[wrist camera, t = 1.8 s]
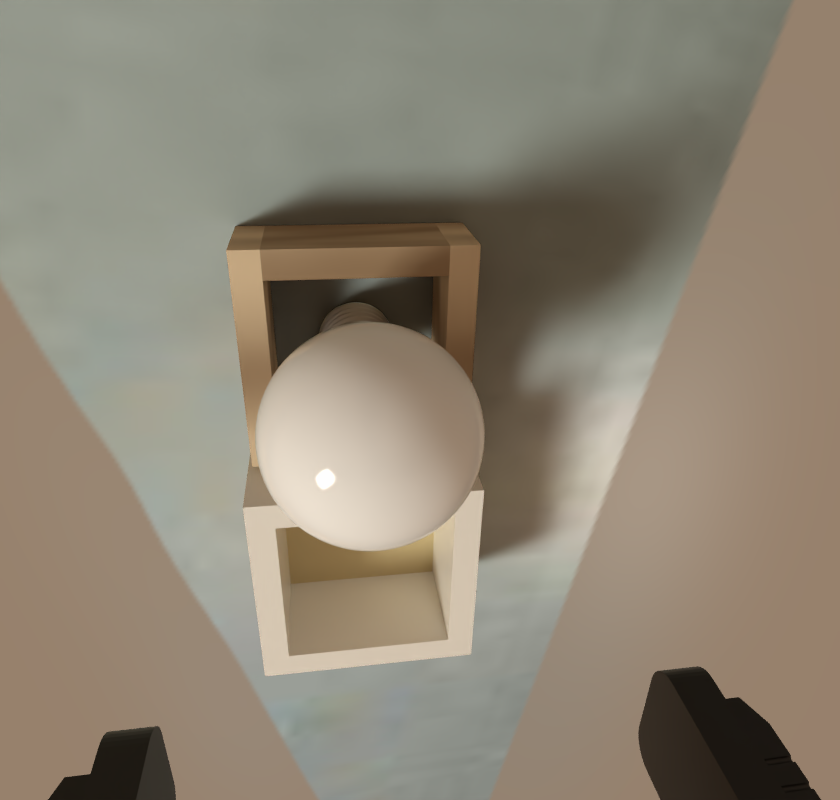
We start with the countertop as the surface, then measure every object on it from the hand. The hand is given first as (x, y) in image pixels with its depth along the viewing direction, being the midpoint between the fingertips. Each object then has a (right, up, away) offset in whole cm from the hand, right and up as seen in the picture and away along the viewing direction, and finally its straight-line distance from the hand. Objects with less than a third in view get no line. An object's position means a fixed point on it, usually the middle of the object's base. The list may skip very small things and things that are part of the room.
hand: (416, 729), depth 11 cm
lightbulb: (-3, +8, +15) cm, 17 cm away
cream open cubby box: (-3, +1, +19) cm, 19 cm away
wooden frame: (-2, +8, +15) cm, 17 cm away
